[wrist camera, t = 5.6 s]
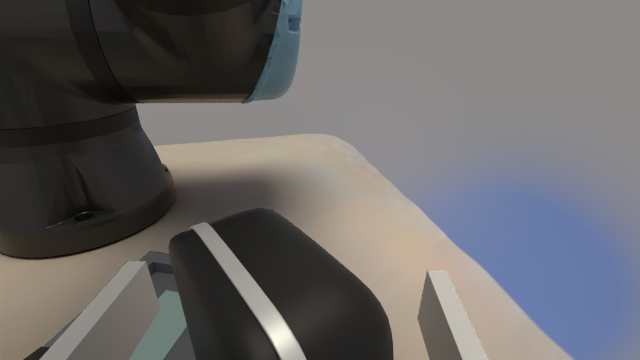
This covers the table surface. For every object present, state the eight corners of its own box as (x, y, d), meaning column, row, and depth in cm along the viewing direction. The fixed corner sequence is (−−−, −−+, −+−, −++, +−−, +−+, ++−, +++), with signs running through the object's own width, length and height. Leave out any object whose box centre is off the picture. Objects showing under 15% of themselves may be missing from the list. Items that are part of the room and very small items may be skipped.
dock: (154, 266, 24) (150, 250, 23) (265, 285, 22) (263, 269, 21) (-39, 455, 13) (-57, 436, 12) (146, 519, 11) (136, 501, 11)
